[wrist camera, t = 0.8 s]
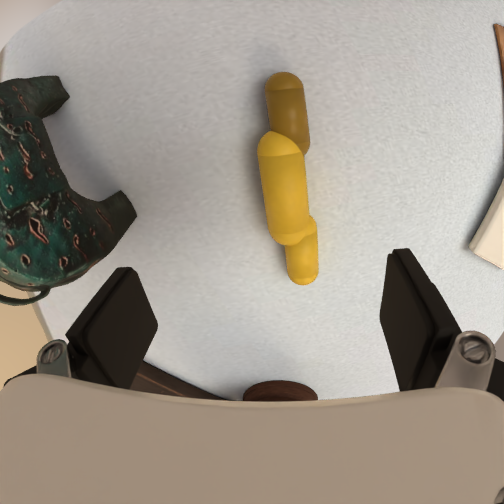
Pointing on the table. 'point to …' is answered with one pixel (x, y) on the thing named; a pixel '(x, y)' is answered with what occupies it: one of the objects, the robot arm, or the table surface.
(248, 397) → the black ball on stand
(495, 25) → the copper plate
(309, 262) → the yellow bent capsule
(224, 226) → the table surface
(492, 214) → the hard drive
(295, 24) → the table surface
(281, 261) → the table surface
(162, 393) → the hardcover book
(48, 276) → the ceramic cat
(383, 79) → the table surface
